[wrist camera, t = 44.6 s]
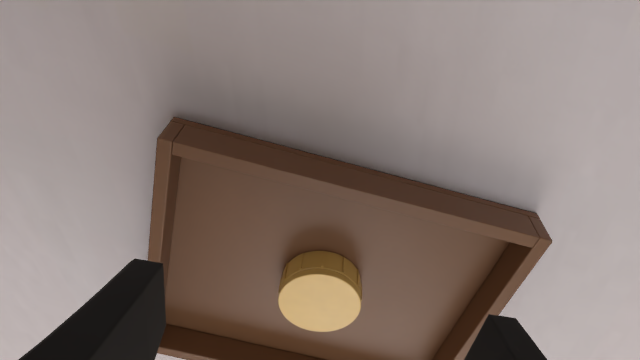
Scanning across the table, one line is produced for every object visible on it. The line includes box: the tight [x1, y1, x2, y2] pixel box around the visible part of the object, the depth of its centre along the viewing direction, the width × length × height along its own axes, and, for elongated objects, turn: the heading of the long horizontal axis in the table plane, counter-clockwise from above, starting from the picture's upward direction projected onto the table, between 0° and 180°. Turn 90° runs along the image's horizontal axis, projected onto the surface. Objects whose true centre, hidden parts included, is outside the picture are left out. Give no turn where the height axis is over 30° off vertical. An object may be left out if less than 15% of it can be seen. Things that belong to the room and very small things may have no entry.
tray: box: [148, 117, 552, 360], centre depth 22 cm, size 16×13×2 cm
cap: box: [278, 251, 362, 332], centre depth 22 cm, size 4×4×2 cm
